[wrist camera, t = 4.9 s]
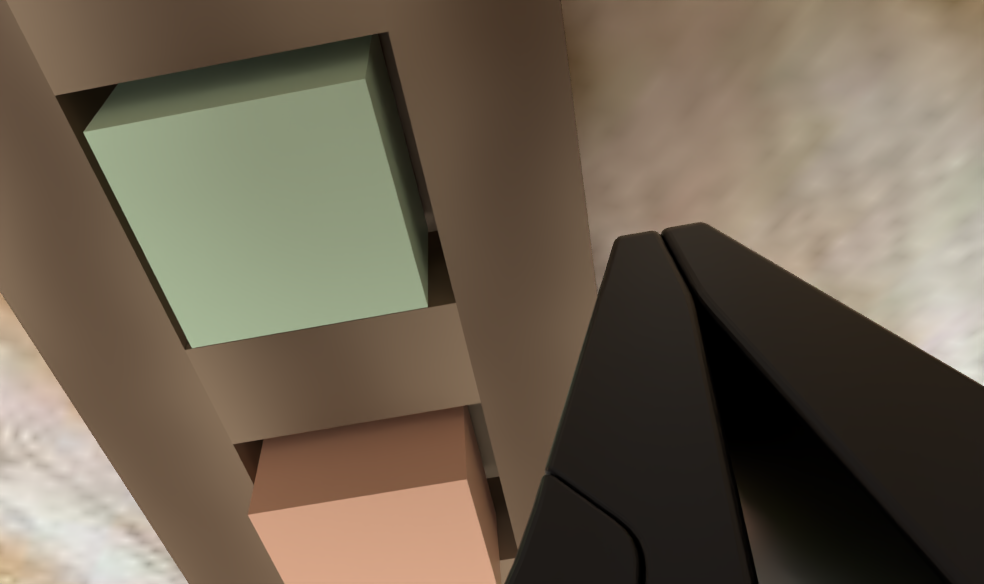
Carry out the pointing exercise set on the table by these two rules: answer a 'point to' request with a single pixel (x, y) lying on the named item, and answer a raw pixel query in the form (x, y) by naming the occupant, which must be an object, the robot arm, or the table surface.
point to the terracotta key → (378, 503)
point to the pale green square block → (269, 190)
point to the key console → (323, 349)
